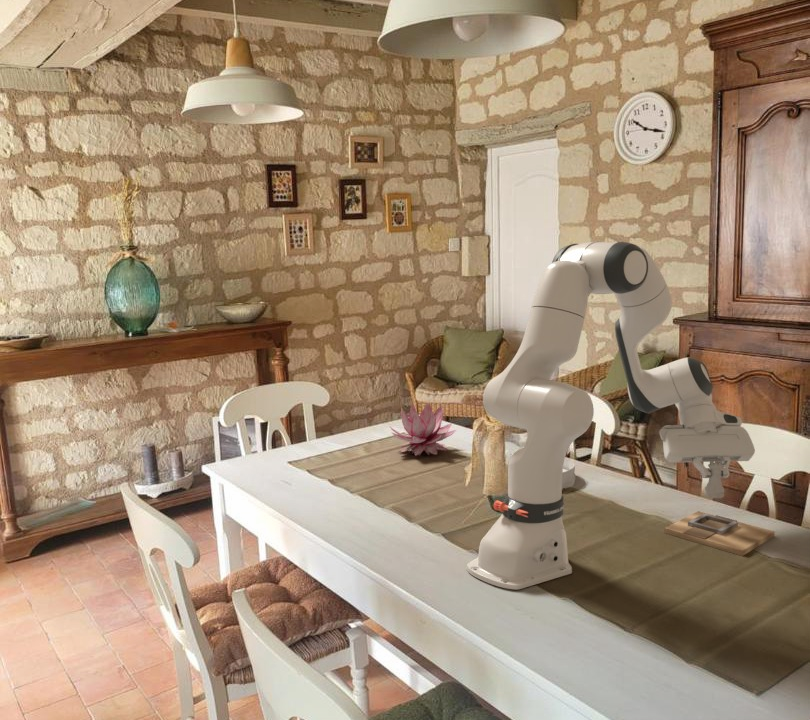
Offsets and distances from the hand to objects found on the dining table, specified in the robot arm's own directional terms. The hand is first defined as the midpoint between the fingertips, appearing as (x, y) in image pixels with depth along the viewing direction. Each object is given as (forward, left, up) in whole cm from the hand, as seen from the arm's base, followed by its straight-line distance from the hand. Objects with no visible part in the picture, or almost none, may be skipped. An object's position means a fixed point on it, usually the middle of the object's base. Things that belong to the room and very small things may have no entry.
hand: (716, 476), depth 169 cm
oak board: (-1, -2, -13) cm, 13 cm away
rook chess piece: (0, 0, -5) cm, 5 cm away
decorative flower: (-2, +96, -13) cm, 97 cm away
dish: (+2, +53, -14) cm, 55 cm away
